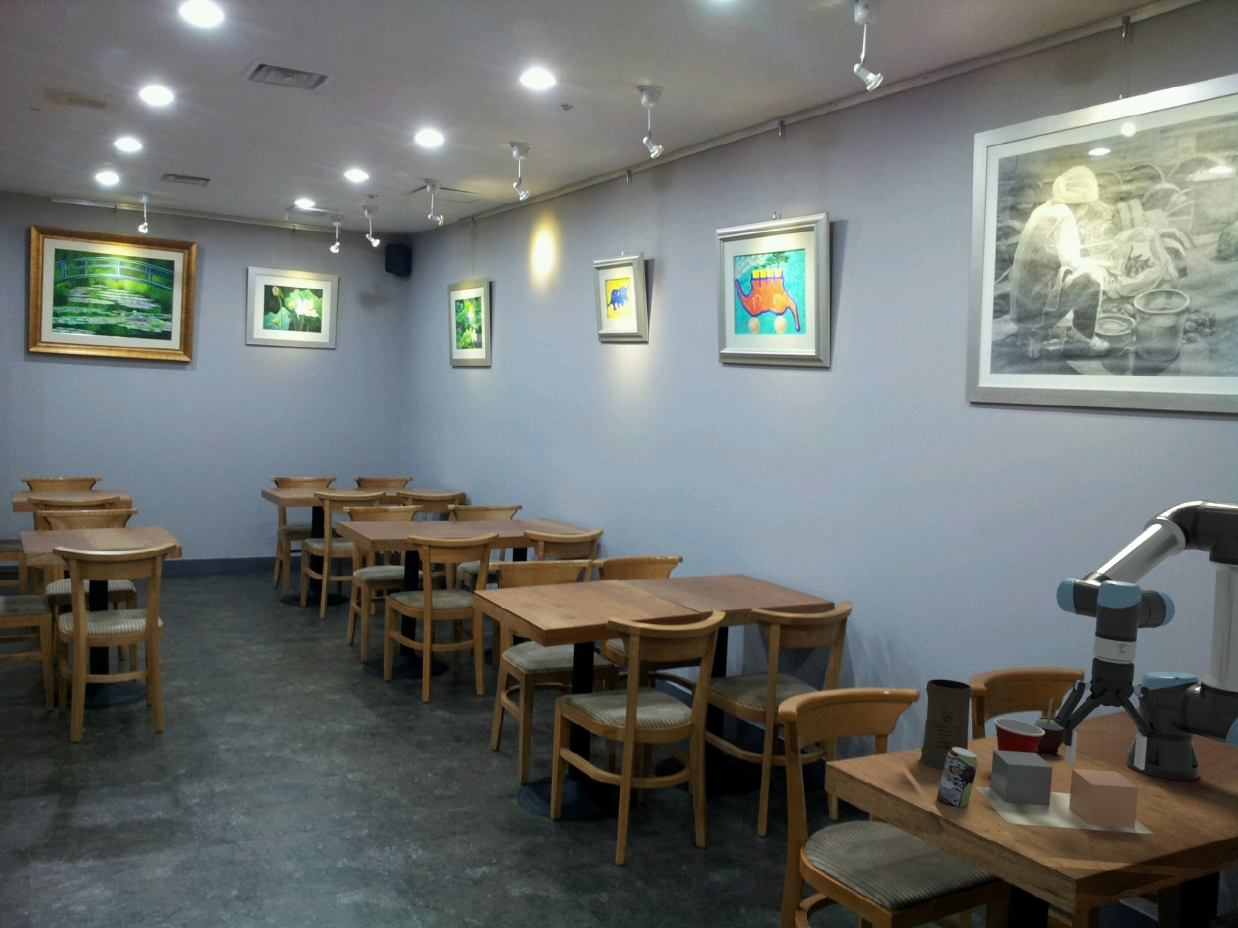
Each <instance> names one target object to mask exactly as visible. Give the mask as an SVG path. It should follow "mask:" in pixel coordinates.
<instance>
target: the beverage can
mask: <svg viewBox="0 0 1238 928" xmlns="http://www.w3.org/2000/svg"><path fill="white" fill-rule="evenodd" d="M977 757H978V756H977V754H976V753H975V752H974V751H972V750H969V749H968V750H967V749H964V748H959V747H953V748H952V750H951V751H949V752H948V754H947V758H946V762H945V766H944V770H942V774H941V779H940V783H939V787H938V792H937V794H936V798H937V800H938V801H939V802H940V803H942V804H944V805H946V806H950V807H953V808H963V807H965V808H966V807H967V806H968V805H969V801H970V797H971V794H972V790H973V785H974V781H975V778H976V777H975V776H976V773H977V770H978V766H979V761H978V759H977Z"/></svg>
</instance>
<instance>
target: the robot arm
mask: <svg viewBox="0 0 1238 928" xmlns="http://www.w3.org/2000/svg"><path fill="white" fill-rule="evenodd" d="M1190 550H1192V551H1194V550H1195V551H1202V552H1207V553H1209V557H1208V562H1209V563H1210V564H1211V565H1212V567H1214V568H1215V570H1216V571H1215V582H1214V584H1215V585H1214V597H1213V598H1214V599H1213V600H1214V601H1213V611H1212V612H1213V616H1212V626H1211V627H1212V628H1211V629H1212V631H1211V644H1210V658H1209V659H1210V660H1209V673H1208V674H1206V675H1205V676H1204V677H1202V678H1201V679H1200V680H1199V677H1198V676H1197V675H1196V674H1192V673H1186V672H1180V671H1179V672H1176V671H1152V672H1147V673H1145V674H1144V675H1143V676H1142V677H1141V682H1140V683H1139V684H1137V685H1133V682H1134V676H1135V675H1134V674H1135V665H1136V664H1134V663H1133V661H1135V660H1136V653H1137V652H1136V651H1137V640H1138V629H1155V628H1159V627H1164V626H1166V625H1168V624H1169V623H1170V622H1171V621H1173V618H1174V616H1175V613H1176V608H1175V604H1174V601H1173V600H1172V598H1171V597H1170V596H1169V594H1167V593H1166V592H1163V591H1161V590H1153V589H1147V590H1145V589H1143V590H1142V588H1141V587H1140V585H1139V584H1137V583H1138V582H1139V581H1140V580H1141V579H1142V578H1144V577H1145V576H1146V575H1148V574H1149V573H1150V572H1151V571H1152V570H1153V569H1155V568H1156V567H1158V566H1159V565H1160V564H1161V563H1162V562H1164V560H1166V559H1167V558H1169V557H1175V556H1177V555H1179V554H1181V553H1182V552H1184V551H1190ZM1055 596H1056V597H1055V598H1056V600H1057V605H1058V607H1059V608H1060V609H1061V610H1062V611H1064V612H1067V613H1072V614H1075V615H1077V616H1085V617H1090V618H1094V619H1095V632H1094V640H1093V641H1094V642H1093V650H1092V653H1093V655H1094V656H1095V657H1093V658H1092V662H1091V664H1092V665H1091V673H1090V675H1091V679H1090V681H1089V682H1086V681H1081V680H1080V679H1074V681H1073V686H1072V690H1071V692H1070V693H1069V695H1068V696H1067V698H1066V700H1065V701H1064V703H1063V705H1062V706H1061V708H1060V710H1059V711H1058V713H1057V714H1056V716H1055V717H1054V718H1053V719H1054V722H1055V723H1057V724H1058V725H1059V726H1061V727H1063V729H1064V730H1063V742H1062V744H1063V745H1065V747H1066V749H1065V758H1064V759H1065V760H1066V762H1068V763H1069V764H1071V765H1075V763H1076V755H1077V754H1076V753H1077V743H1078V731H1077V730H1076V728H1077V727H1078V726H1079V725H1080V724H1081V723H1082V722H1083V721H1084V720H1085V719H1086V718H1087V717H1088V716H1089V715H1090V714H1091V713H1092V712H1093V711H1094V710H1095V709H1097V708H1099V707H1100V706H1103V707H1115V708H1121V707H1123V709H1124V710H1125V712H1126V713H1127V715H1128V716H1129V717H1130V718H1131V720H1132V721H1133V723H1134V724H1135V725H1136V727H1137V729H1136V734H1135V736H1134V738H1133V740H1132V743H1131V745H1130V747H1129V748H1128V751H1127V754H1126V761H1125V762H1126V765H1127V766H1128V767H1130V768H1131V769H1133V770H1135V771H1137V772H1140V773H1143V774H1145V775H1149V776H1153V777H1157V778H1161V779H1167V780H1175V781H1193V780H1194V781H1195V780H1196V779H1198V778H1199V777H1200V776H1199V774H1200V765H1199V762H1198V758H1197V753H1196V750H1195V747H1194V742H1193V741H1194V736H1197V737H1202V738H1205V739H1209V740H1211V741H1216V742H1219V743H1223V744H1226V745H1227V746H1234V747H1238V502H1229V501H1228V502H1227V501H1216V500H1215V501H1214V500H1207V499H1196V500H1195V499H1194V500H1189V501H1185V502H1182V503H1180V504H1176V505H1174V506H1170V507H1169V508H1167V509H1165V510H1163V511H1161V512H1159V513H1157V514H1156V515H1155V516H1153V517H1152V518H1151V519H1149V520H1147V522H1146V523H1145V524H1144V526H1143V529H1142V531H1141V532H1140V533H1139V534H1137V535H1135V537H1134V538H1133V539H1131V540H1129V542H1127V543H1126V544H1124V545H1123V546H1122V547H1121V548H1120V549H1118V550H1117V551H1116V552H1114V553H1113V554H1112V555H1111V556H1109V557H1108V558H1107V559H1105V560H1104V561H1103V562H1102V563H1101V564H1099V565H1098V566H1097V567H1095V568H1094V569H1093V570H1091V571H1090V572H1089V573H1088V574H1086V575H1084V577H1083V578H1078V577H1074V578H1073V577H1067V578H1063V579H1062V580H1061V581H1060V582H1059V584H1058V586H1057V588H1056V595H1055ZM1199 681H1200V683H1199ZM1088 690H1089V691H1090V694H1089V695H1088V696H1087V697H1086V698H1085V700H1084V702H1083V703H1082V704H1081V705H1079V703H1080V701H1081V700H1082V699H1083V697H1084V694H1085V693H1087V691H1088ZM1133 694H1134V695H1135V696H1136V697H1137V698H1138V699H1137V700H1138V702H1139V703H1138V711H1137V709H1136V708H1135V705H1134V704H1133V702H1131V700H1130V698H1131V697H1132V696H1133ZM1078 705H1079V707H1078V708H1077V706H1078ZM1076 708H1077V709H1076Z"/></svg>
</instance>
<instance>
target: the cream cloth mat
mask: <svg viewBox="0 0 1238 928" xmlns="http://www.w3.org/2000/svg"><path fill="white" fill-rule="evenodd" d="M974 788H975V789H976V790H977V791H978V792H979V794H980V795H981V796H982V797H983V798H984V799H985V800H986V802H988V804H990V805H991V807H992V808H993V809H994V810H995V812H996V813H998V815H999V816H1001V818H1002V820H1003V821H1004V822H1006V824H1008V825H1020V826H1021V825H1024V826H1032V827H1033V826H1035V827H1047V828H1050V827H1052V828H1062V829H1065V828H1066V829H1078V830H1088V831H1089V830H1090V831H1091V830H1093V831H1103V832H1104V831H1107V832H1118V833H1133V834H1146V835H1155V833H1154V832H1153V831H1151V830H1150V828H1148V827H1146V826H1145V825H1144V824H1142V823H1141V822H1140V821H1139V820H1138V819H1136V820H1135V828H1129V827H1115V826H1101V825H1088V824H1087V823H1086V822H1085V821H1084V820H1083V819H1082V818H1081V817H1079V816H1078V815H1077V814H1076V813H1075V812H1074V811H1073V810H1072V809H1071V808H1070V807H1069V804H1070V792H1069V793H1068V792H1059V791H1058V792H1057V791H1056V792H1055V791H1051V793H1050V806H1046V805H1032V804H1018V803H1005V802H1004V801H1003V800H1002V799H1001V798H1000V797H999V795H998V794H997V793H996V792H995V791H994V790H993V789H992V788H991V787H986V786H985V787H984V786H974Z"/></svg>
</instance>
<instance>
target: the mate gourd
mask: <svg viewBox="0 0 1238 928" xmlns="http://www.w3.org/2000/svg"><path fill="white" fill-rule="evenodd" d="M1054 699H1055V697H1051V699H1050V701H1049V703H1048V713H1047V717H1045V716H1043V717H1038V718H1037V719H1036V720H1035V722H1034V725H1035V726H1037V727H1039V728H1041V729H1042V730H1044V731H1045V734H1044V735H1043V736H1042V737H1041V740H1040V741H1039V744H1038V746H1037V750H1036V754H1037V755H1039V754H1040V755H1041V754H1049V755H1051V756H1053V757H1056V758H1058V756H1059V754H1057V753H1059V748H1060V747H1061V746H1062V744H1063V730H1064V729H1063V727H1061V726H1059V725H1058V724H1057V723H1055V722H1054V719H1055V718H1052V717H1051V714H1052V709H1053V702H1054Z"/></svg>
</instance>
